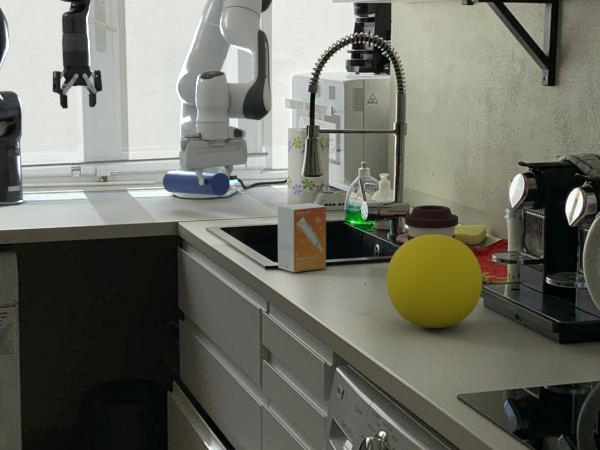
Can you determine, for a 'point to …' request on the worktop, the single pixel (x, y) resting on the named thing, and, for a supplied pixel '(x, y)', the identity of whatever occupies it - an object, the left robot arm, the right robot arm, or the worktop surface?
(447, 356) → the worktop surface
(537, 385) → the worktop surface
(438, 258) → the toy
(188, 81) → the right robot arm
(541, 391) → the worktop surface
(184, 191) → the rod
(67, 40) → the left robot arm
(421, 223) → the coffee cup
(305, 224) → the small box
